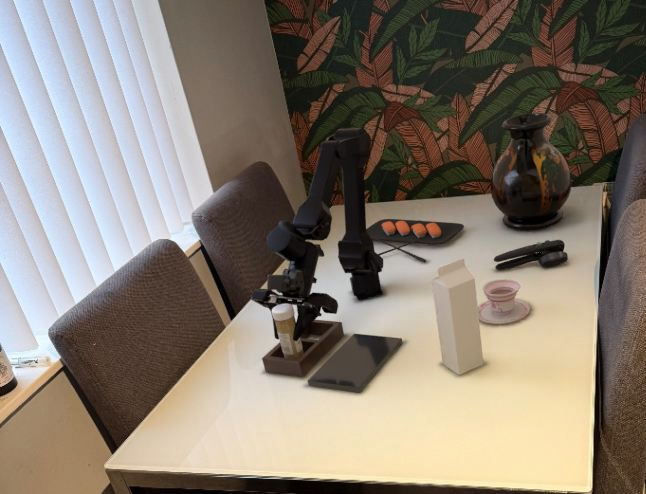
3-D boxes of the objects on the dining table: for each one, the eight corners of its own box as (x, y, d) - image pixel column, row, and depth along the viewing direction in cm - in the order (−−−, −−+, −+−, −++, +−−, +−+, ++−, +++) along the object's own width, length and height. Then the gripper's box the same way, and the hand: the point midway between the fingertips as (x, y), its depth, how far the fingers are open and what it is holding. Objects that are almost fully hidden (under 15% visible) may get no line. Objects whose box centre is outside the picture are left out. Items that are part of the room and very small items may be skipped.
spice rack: (308, 332, 176) (305, 318, 174) (344, 335, 171) (341, 321, 170) (265, 372, 163) (261, 358, 161) (302, 377, 158) (299, 362, 157)
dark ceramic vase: (565, 236, 199) (561, 127, 185) (485, 237, 208) (475, 133, 193) (578, 206, 216) (575, 105, 201) (503, 208, 224) (496, 111, 210)
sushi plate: (468, 230, 214) (467, 217, 212) (415, 274, 194) (413, 260, 192) (382, 224, 229) (380, 212, 227) (325, 264, 209) (322, 251, 207)
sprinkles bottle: (310, 362, 163) (296, 306, 156) (291, 371, 161) (277, 314, 154) (300, 355, 167) (286, 300, 160) (282, 363, 165) (267, 308, 158)
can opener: (564, 255, 190) (563, 233, 187) (569, 266, 184) (568, 244, 181) (493, 264, 191) (491, 243, 189) (495, 275, 186) (493, 254, 183)
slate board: (354, 338, 170) (353, 333, 169) (402, 342, 164) (402, 338, 164) (308, 385, 155) (307, 380, 155) (359, 392, 150) (358, 387, 149)
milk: (483, 364, 151) (474, 262, 140) (458, 375, 149) (446, 273, 138) (466, 353, 156) (455, 253, 145) (441, 364, 154) (428, 263, 142)
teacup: (540, 306, 168) (539, 280, 165) (509, 329, 162) (507, 303, 158) (496, 296, 176) (494, 271, 173) (464, 318, 169) (461, 293, 166)
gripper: (244, 253, 159) (227, 325, 157) (319, 257, 151) (302, 333, 148) (274, 272, 169) (258, 339, 167) (346, 276, 160) (330, 347, 158)
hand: (285, 339), depth 160 cm, fingers closed on sprinkles bottle, 4 cm apart
